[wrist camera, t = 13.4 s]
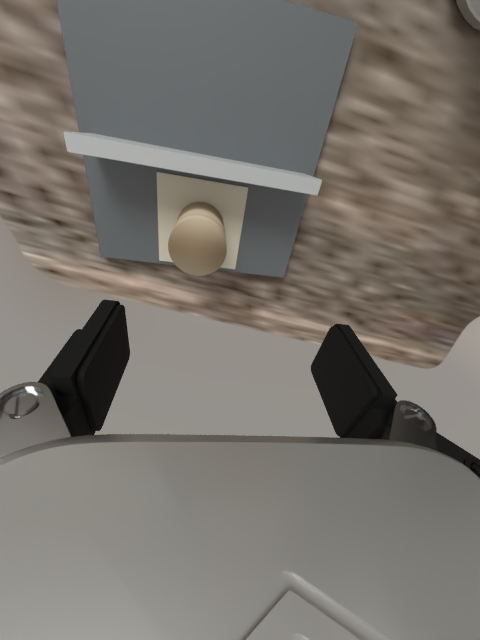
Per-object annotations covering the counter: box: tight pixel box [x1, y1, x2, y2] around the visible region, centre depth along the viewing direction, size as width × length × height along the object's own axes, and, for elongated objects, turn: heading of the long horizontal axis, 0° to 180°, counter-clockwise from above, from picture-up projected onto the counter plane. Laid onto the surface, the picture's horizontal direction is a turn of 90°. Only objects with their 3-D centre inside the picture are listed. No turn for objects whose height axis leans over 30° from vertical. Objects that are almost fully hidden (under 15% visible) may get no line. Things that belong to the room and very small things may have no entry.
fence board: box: [56, 0, 358, 278], centre depth 22 cm, size 22×22×6 cm
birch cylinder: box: [168, 202, 227, 276], centre depth 24 cm, size 5×5×7 cm
